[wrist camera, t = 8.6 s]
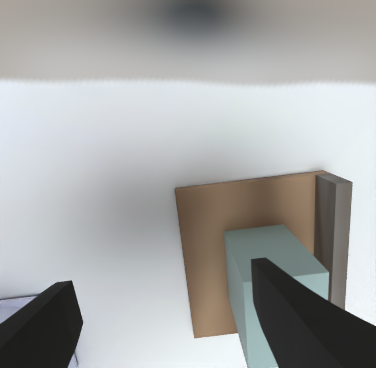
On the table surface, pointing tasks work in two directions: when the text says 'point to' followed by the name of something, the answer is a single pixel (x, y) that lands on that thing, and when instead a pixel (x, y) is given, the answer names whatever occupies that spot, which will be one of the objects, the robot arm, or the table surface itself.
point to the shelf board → (252, 218)
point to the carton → (242, 280)
